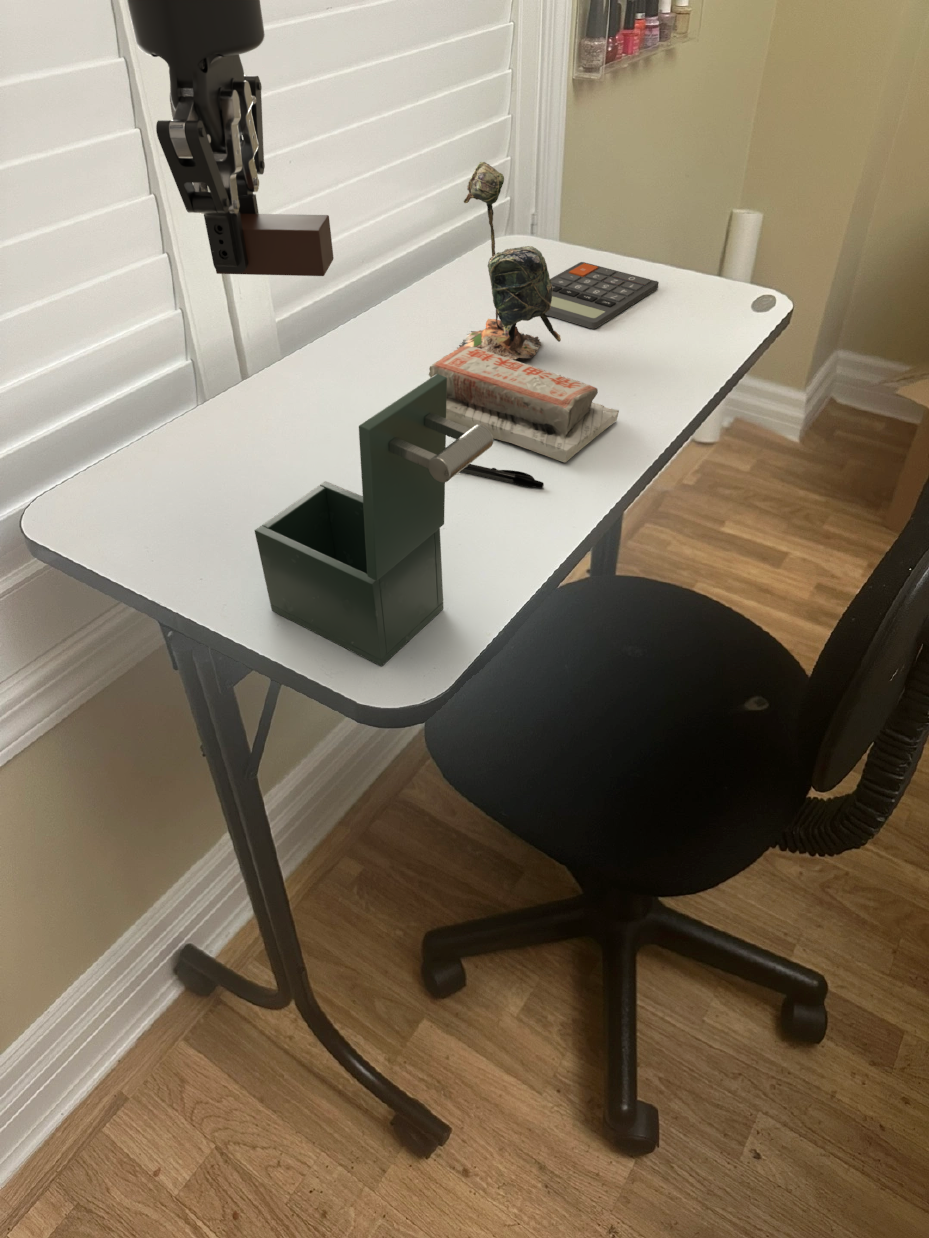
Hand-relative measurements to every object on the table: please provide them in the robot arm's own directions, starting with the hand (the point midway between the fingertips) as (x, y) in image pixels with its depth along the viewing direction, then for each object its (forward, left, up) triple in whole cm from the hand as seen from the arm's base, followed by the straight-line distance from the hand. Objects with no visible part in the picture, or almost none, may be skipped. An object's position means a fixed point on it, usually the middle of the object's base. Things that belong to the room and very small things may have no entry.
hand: (240, 259), depth 62 cm
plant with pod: (+29, +26, -23) cm, 45 cm away
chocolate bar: (+2, -1, 0) cm, 2 cm away
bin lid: (+7, -17, -9) cm, 20 cm away
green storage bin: (+3, -12, -23) cm, 26 cm away
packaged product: (+25, +12, -23) cm, 36 cm away
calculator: (+43, +37, -23) cm, 61 cm away
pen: (+18, +4, -23) cm, 29 cm away
